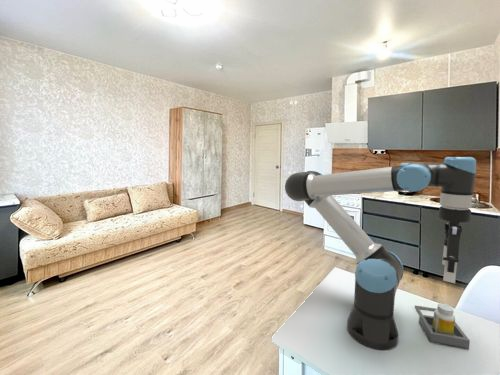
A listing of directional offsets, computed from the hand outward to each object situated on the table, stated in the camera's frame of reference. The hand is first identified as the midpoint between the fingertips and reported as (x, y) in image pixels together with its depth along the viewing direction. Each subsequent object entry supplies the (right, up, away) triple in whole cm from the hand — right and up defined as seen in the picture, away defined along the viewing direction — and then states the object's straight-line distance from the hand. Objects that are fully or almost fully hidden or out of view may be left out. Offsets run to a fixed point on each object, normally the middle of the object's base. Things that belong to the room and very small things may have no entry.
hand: (448, 272), depth 78 cm
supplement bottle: (0, -21, +2) cm, 21 cm away
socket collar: (+4, -20, +12) cm, 24 cm away
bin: (0, -21, +3) cm, 22 cm away
